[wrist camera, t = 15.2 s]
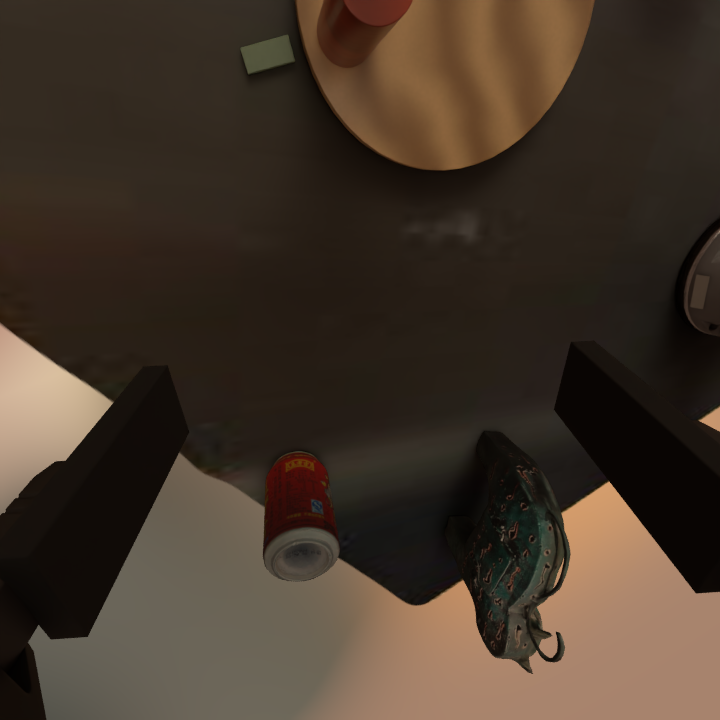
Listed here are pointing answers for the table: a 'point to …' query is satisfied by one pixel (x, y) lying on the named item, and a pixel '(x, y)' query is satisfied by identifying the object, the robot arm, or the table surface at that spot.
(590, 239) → the table surface
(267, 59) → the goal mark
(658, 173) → the table surface
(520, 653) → the ceramic cat
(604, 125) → the table surface
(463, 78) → the wooden round stand
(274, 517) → the soda can
